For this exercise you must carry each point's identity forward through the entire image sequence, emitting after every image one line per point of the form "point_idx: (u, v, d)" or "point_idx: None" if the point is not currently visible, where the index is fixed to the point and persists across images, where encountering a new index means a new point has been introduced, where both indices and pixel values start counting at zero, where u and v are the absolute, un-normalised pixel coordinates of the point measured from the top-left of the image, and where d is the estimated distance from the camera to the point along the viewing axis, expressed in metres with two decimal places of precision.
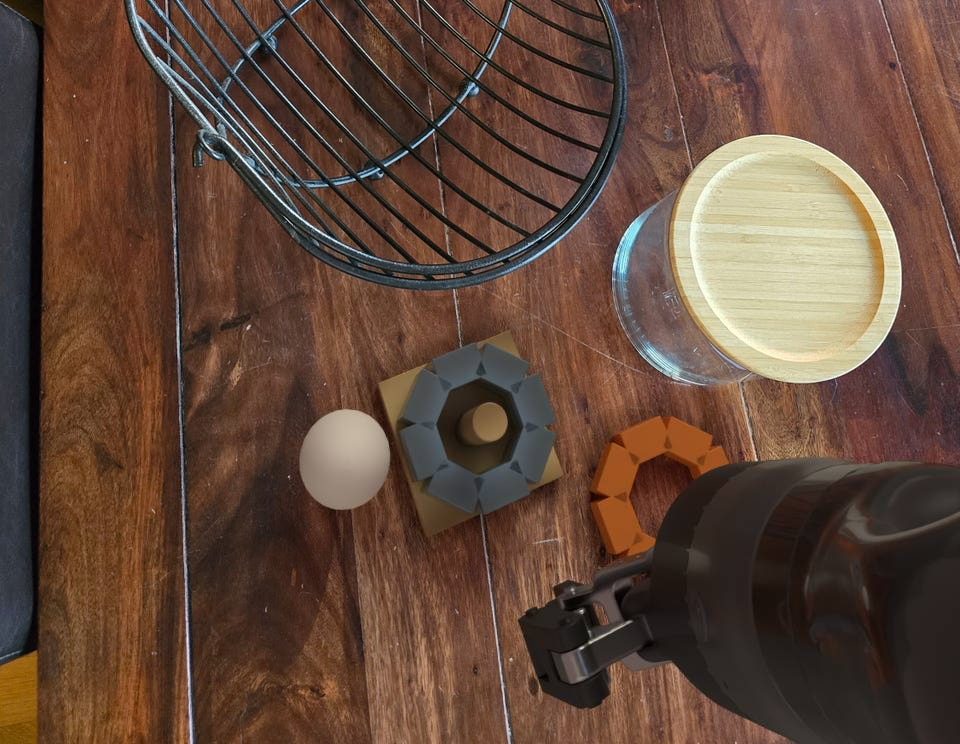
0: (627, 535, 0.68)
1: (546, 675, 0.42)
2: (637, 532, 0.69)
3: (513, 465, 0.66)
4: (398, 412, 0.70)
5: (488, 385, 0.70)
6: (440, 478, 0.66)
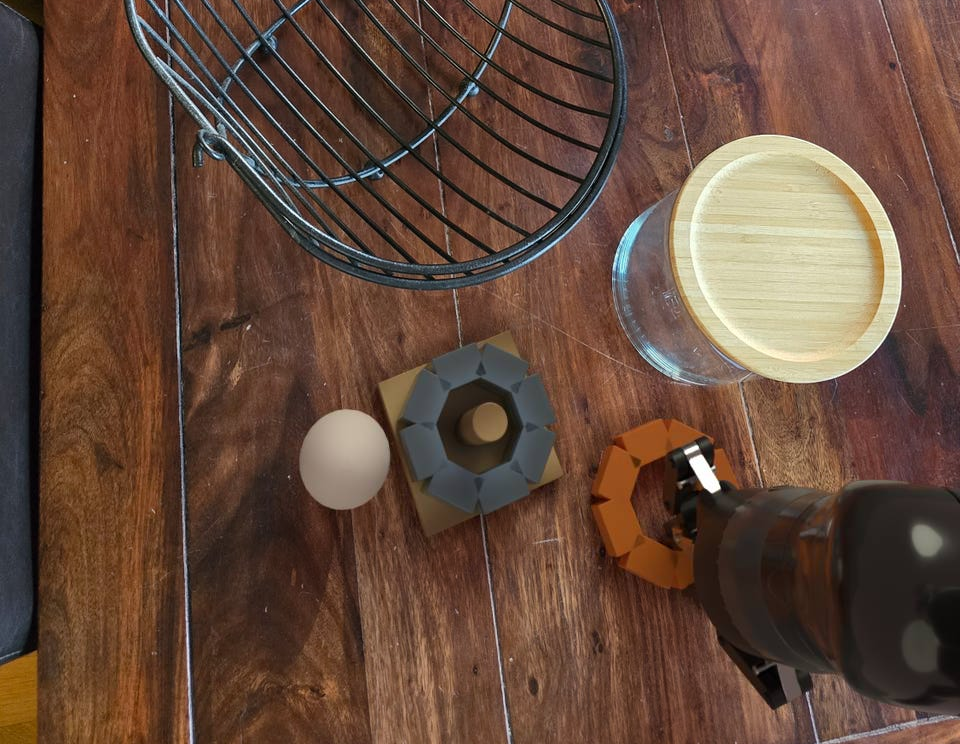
0: (628, 538, 0.68)
1: None
2: (638, 535, 0.69)
3: (513, 465, 0.66)
4: (398, 412, 0.70)
5: (488, 385, 0.70)
6: (440, 478, 0.66)
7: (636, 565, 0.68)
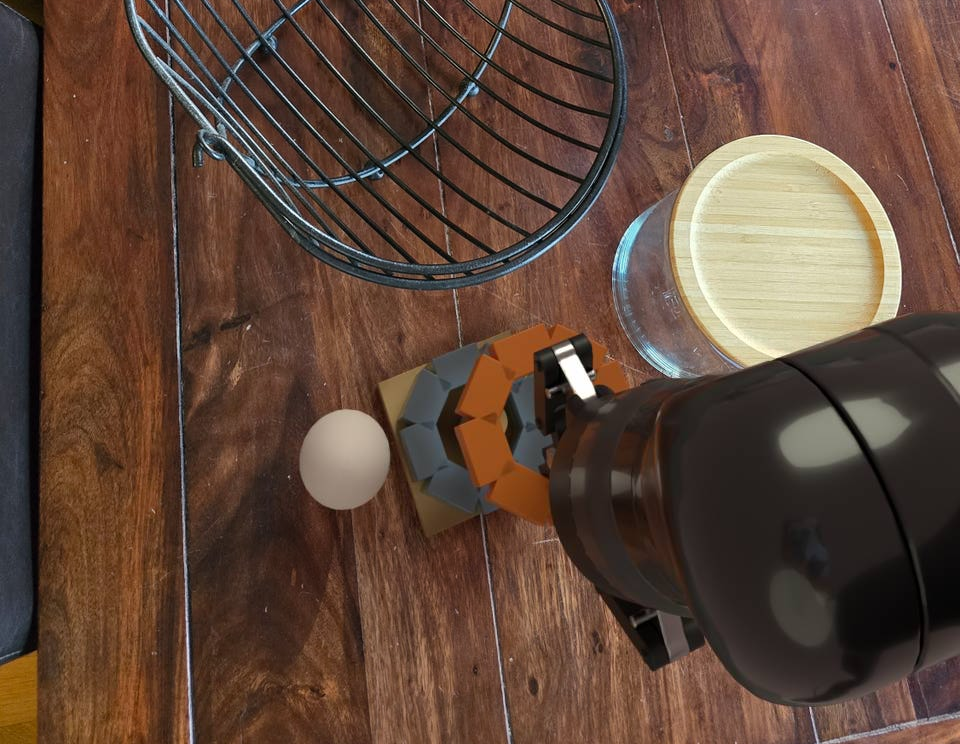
0: (495, 464, 0.56)
1: None
2: (508, 461, 0.56)
3: None
4: (398, 412, 0.70)
5: None
6: (440, 478, 0.66)
7: (503, 497, 0.55)
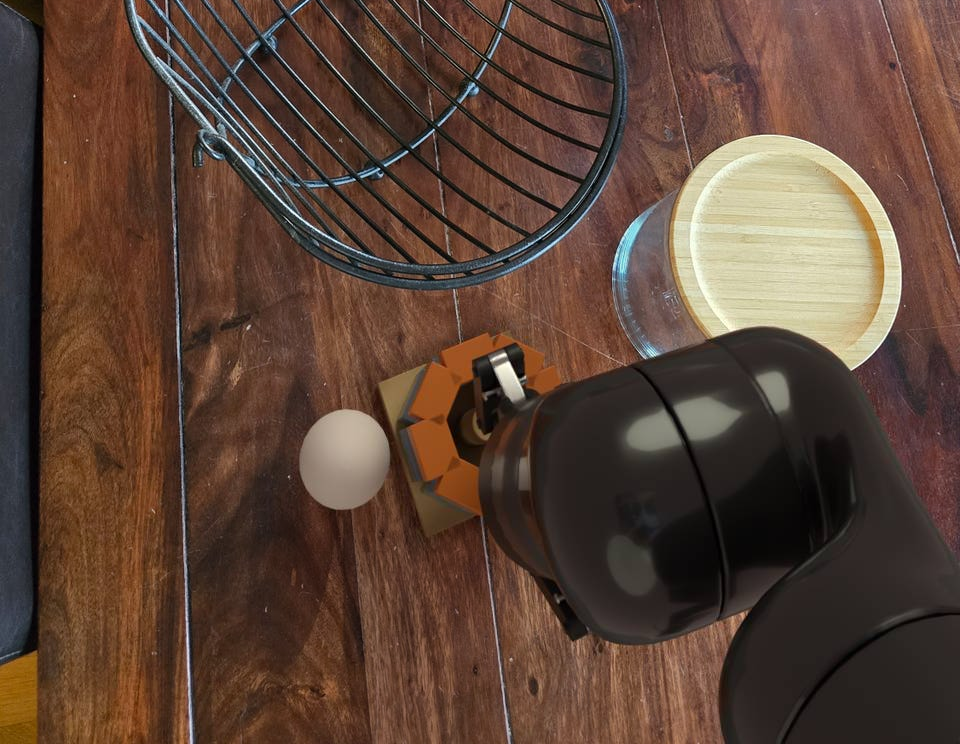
0: (441, 461, 0.62)
1: None
2: (453, 457, 0.62)
3: None
4: (398, 412, 0.70)
5: None
6: None
7: (448, 490, 0.61)
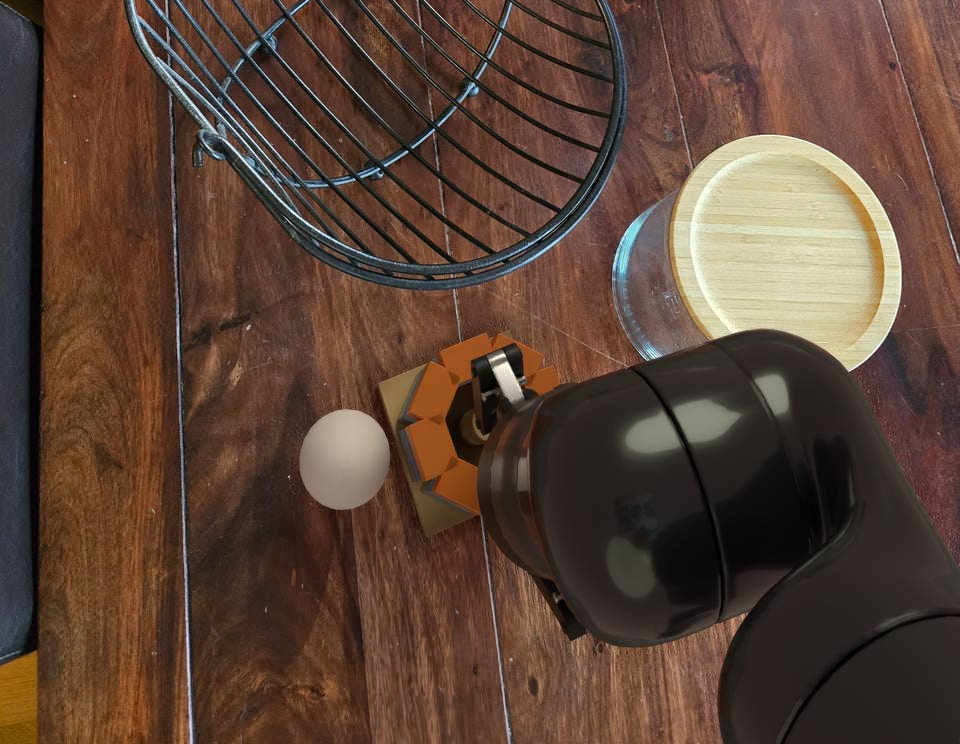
0: (440, 460, 0.62)
1: None
2: (452, 457, 0.62)
3: None
4: (398, 412, 0.70)
5: None
6: None
7: (447, 489, 0.61)
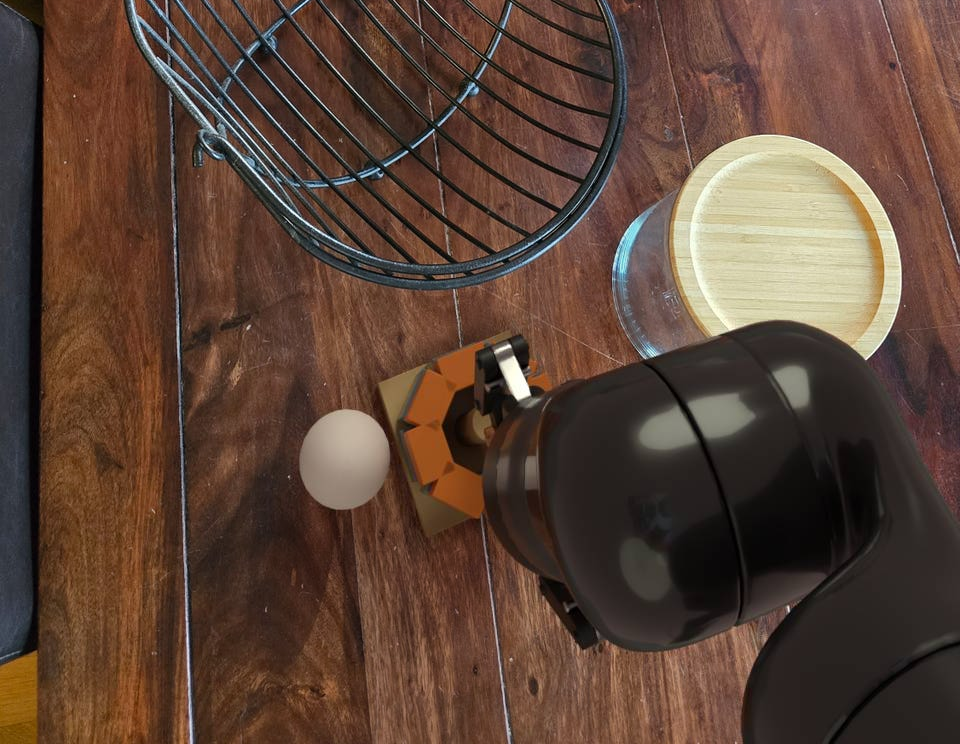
0: (437, 465, 0.64)
1: None
2: (448, 462, 0.64)
3: None
4: (398, 412, 0.70)
5: None
6: None
7: (443, 493, 0.63)
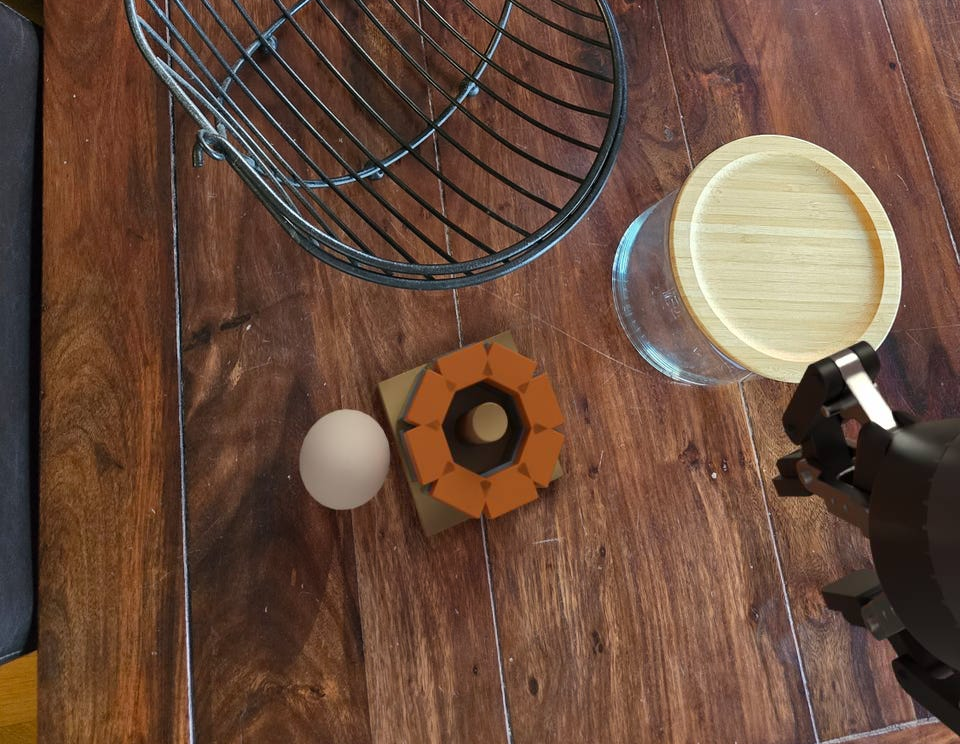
0: (437, 465, 0.64)
1: None
2: (448, 462, 0.64)
3: None
4: (398, 412, 0.70)
5: (488, 385, 0.70)
6: None
7: (443, 493, 0.63)
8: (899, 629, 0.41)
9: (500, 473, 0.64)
